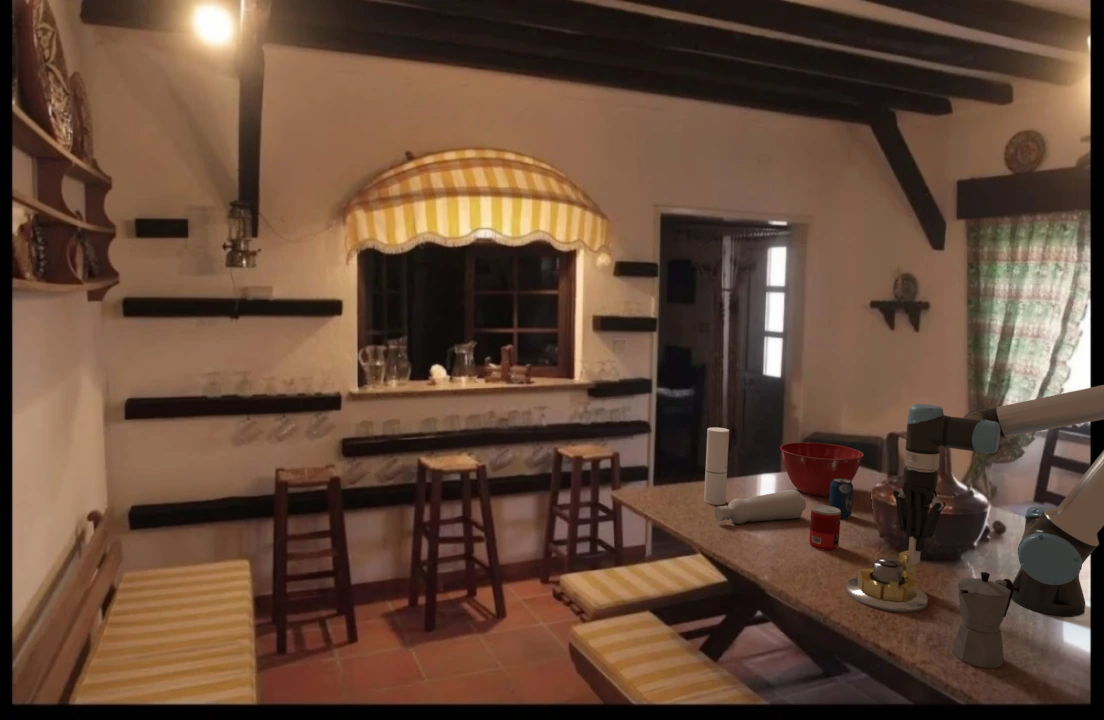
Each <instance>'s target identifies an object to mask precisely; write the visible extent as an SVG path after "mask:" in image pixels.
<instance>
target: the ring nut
mask: <svg viewBox="0 0 1104 720" xmlns="http://www.w3.org/2000/svg"><path fill="white" fill-rule="evenodd" d="M908 551H909V549H908V550H904V551H901V552H899V553H898V561H899V563H900V564H902V565H903V573H902V585H900V586H898V583H899V582H898V581H897V579H888V585H887V584H882V583H879V582H877V581H874V580H873V570H874V567H871V568H870V567H868V568H859V571H858V576H857V578H858V586H859V588H860V589H861V591H863V592H864V593H866V594H869V595H871V596H874V597H876V598H879V599H881V598H883V600H892V601H903V600H904V601H908V600H910V599H913V598H915V597H916V594H917V588H918V583H917V581H916V579H917V567H918V566H917V565H918V563H915V564H911V563H908Z"/></svg>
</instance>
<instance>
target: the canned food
mask: <svg viewBox="0 0 1104 720" xmlns="http://www.w3.org/2000/svg"><path fill="white" fill-rule="evenodd" d="M840 518H841V510H840V509H838V508H835V507H832V506H829V505H826V504H825V505H824V504H815V505H812V506H811V511H810V522H809V523H810V524H809V539H808V540H809V541H808V542H809V545H810V546H811V548H814V547H815V549H817V548H818V549H817V550H821V549H824V550H823V551H835V550H834V549H836V550H838V548H839V546H840V545H839V543H840V530H841V519H840Z"/></svg>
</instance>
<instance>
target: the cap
mask: <svg viewBox="0 0 1104 720" xmlns="http://www.w3.org/2000/svg"><path fill="white" fill-rule="evenodd" d="M873 568H874V570H873V580H874V581H877V582H879V583H882V584H887V585H888V579H897V581H898V582H899V583H898V586H900V585H902V573H903V565H902V564H900V563H899V559H896V558H894V557H891V556H890V557H889V556H881V557H880V556H879V558H878V559H876V560H874V562H873ZM846 593H847V594H848V596H849V597H851V598H852V599H853V600H855V601H857V602H858V603H861V604H862V605H865V606H868V607H871V608H875V609H878V610H883V611H887V612H893V613H894V612H896V613H913V612H919V611H922V610H924V609H925V608H926V607H927V606H928V596H927V594H926V593H925V592H924V591H923V590H921V589H920V588H918V587H917V594H916V597H915V598H913V599H910V600H908V601H904V600H903V601H892V600H883V598H881V599H879V598H876V597H874V596H871V595H869V594H866V593H864V592H863V591H861V589H860V588H859V586H858V577H854V578H852V579H850V580H849V581H847V582H846Z"/></svg>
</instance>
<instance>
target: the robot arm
mask: <svg viewBox="0 0 1104 720" xmlns="http://www.w3.org/2000/svg"><path fill="white" fill-rule="evenodd" d="M908 409H909V411H908V416H907V422H906V438H905V439H906V440H905V451H904V465H905V467H904V468H903V475H902V481H903V485H902V487H901V488H900V489H895V490H893V491H892V494H893V497H894V499H895V504H896V512H897V517H898V525H899V530H900V531H901V532H903V533H905V534H906V545H905V546H906V548H908V550H909V551H908V563H911V564H915V563H917V564H919V563H920V562H921V552H923V551H924V547H925V539H929V538H932V537H933V536H934V533H935V531H936V528H937V525H938V521H939V518H940V515H941V514H942V511H943V510H944V508H945V507H946V506H947V504H946V502H944V501H941V500H940V499H939V498H938V494H937V490H936V489H937V486H938V480H939V479H938V478H939V472H938V469H940V468H939V467H940V454H941V448H949V449H956V450H961V451H969V452H975V453H978V454H982V453H983V454H985V453H986V454H995V453H997V452H998V450H999V447H1000V439H1005V438H1008V437H1014V436H1020V435H1025V434H1031V433H1035V432H1040V431H1041V432H1042V431H1048V430H1053V429H1057V428H1063V427H1069V426H1075V425H1081V424H1085V423H1092V422H1097V421H1102V420H1104V384H1101V385H1097V386H1092V387H1088V388H1082V389H1078V390H1077V389H1076V390H1074V391H1068V392H1063V393H1057V394H1053V395H1049V396H1044V397H1040V398H1034V399H1029V400H1025V401H1021V402H1015V403H1011V404H1006V405H1002V406H996V407H991V408H987V409H976V410H971V411H969V412H968V413H966V414H965V415H964V416H963V417H958V416H949V415H945V413H944V409H943V407H942V406H939V405H935V404H934V405H933V404H926V403H924V404H923V403H916V404H913V405H911V406H910V407H909V408H908ZM930 505H931V506H930ZM930 507H931V509H930ZM1024 519H1025V521H1024V522H1025V524H1024V531H1023V535H1022V537H1021V540H1020V542H1019V543H1018V546H1017V558H1018V562H1019V564H1020V568H1019V570H1018V571H1017V572H1016V573H1017V574H1016V575H1015V577H1014V579H1013V582H1012V583H1013V585H1014V587H1015V589H1014V593H1013V595H1012V598H1011V601H1012V600H1013V602H1015V603H1017V604H1018V605H1020V606H1022V607H1024V608H1027V609H1029V610H1032V611H1036V612H1038V613H1043V614H1048V615H1053V616H1060V617H1078V616H1080V615H1083V614H1084V613H1085V612H1086V600H1085V596H1084V592H1083V588H1082V585H1081V584H1082V583H1081V581H1080V573H1081V571H1082V568H1083V567H1082V566H1083V564H1084V563H1085V562H1086V560H1087V559H1088V558H1089V557H1090V555H1091V554H1092V553H1093V552H1094V551H1095V550H1096V548H1097V547H1098V546H1099V545H1100V542H1099V539H1098V533H1099V532H1100V530H1102V528H1103V527H1104V450H1102V452H1101V453H1100V454H1099V456H1098V457H1097V458H1095V461H1093V463H1092V465H1090V467H1088V469H1087V470H1086V472H1085V473H1084V474H1083V476H1081V478H1080V479H1079V480H1078V482H1077V483H1076V484H1075V485H1074V487H1073V488H1072V489H1071V490H1070V492H1069V493H1068V494H1067V495H1066V496H1065V498H1064V499H1063V500H1062V501H1061V502H1060V503H1059V505H1058V506H1057V507H1056V508H1054V507H1045V506H1029V507H1028V508H1027V509H1026V514H1025V515H1024Z"/></svg>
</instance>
